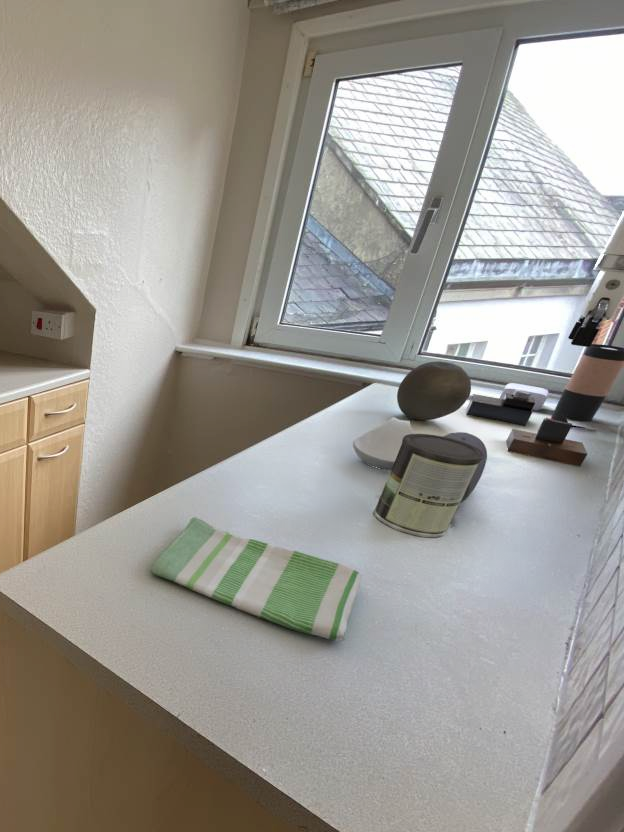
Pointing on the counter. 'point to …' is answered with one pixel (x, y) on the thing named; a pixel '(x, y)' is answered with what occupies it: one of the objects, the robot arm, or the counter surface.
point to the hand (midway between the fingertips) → (578, 342)
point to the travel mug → (589, 383)
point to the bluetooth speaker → (477, 475)
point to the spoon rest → (382, 443)
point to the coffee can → (427, 484)
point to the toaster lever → (521, 394)
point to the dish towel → (262, 579)
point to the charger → (535, 393)
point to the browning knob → (553, 430)
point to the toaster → (501, 409)
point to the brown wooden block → (546, 448)
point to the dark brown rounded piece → (433, 390)
